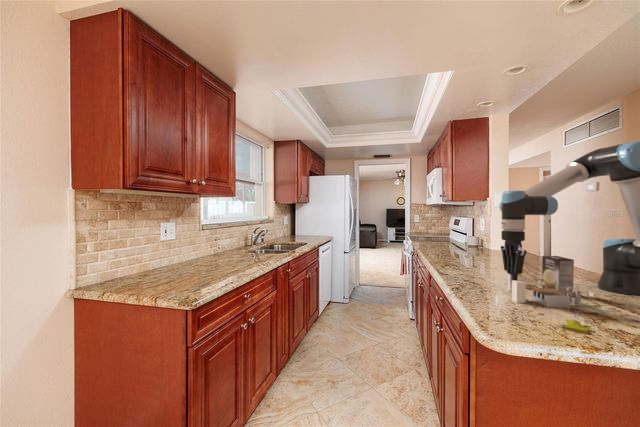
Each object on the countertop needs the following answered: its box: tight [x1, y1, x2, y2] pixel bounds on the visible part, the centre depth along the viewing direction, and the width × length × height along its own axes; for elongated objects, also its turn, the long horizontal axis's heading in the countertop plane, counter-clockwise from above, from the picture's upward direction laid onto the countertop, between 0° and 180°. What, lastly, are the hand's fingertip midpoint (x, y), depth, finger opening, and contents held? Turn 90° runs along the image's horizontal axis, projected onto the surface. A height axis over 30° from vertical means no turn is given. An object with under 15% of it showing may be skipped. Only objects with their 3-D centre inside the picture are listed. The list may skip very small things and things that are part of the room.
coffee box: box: [541, 255, 575, 297], centre depth 117 cm, size 9×6×16 cm
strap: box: [525, 286, 575, 295], centre depth 104 cm, size 16×4×1 cm, turn 85°
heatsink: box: [531, 291, 572, 308], centre depth 104 cm, size 8×8×4 cm
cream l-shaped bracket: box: [511, 279, 538, 304], centre depth 105 cm, size 7×3×8 cm, turn 85°
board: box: [567, 287, 610, 315], centre depth 104 cm, size 25×18×7 cm
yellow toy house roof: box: [562, 318, 593, 335], centre depth 85 cm, size 10×9×3 cm
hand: (512, 290), depth 109 cm, fingers closed
